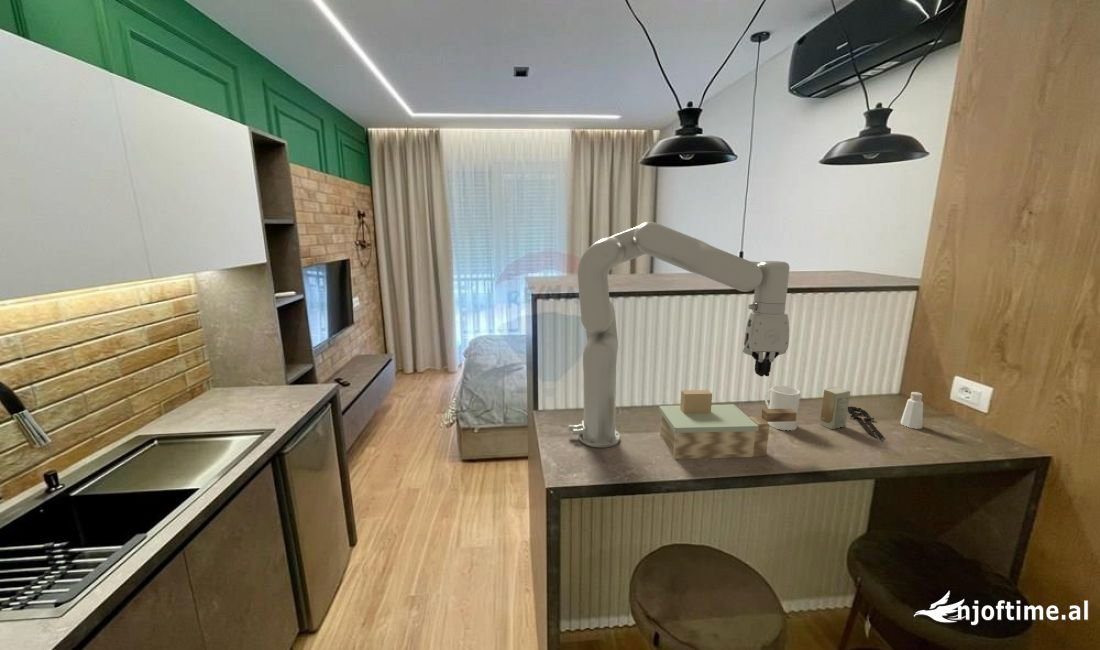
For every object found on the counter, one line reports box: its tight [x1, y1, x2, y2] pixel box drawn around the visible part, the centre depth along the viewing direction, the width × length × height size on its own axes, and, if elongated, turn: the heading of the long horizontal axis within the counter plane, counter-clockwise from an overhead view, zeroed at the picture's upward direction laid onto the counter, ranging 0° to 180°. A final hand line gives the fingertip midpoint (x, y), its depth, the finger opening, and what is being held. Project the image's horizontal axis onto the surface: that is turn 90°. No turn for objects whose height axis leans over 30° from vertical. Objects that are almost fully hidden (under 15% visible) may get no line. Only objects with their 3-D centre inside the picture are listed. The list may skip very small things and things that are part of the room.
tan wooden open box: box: [659, 413, 770, 460], centre depth 121 cm, size 26×14×10 cm, turn 92°
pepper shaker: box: [900, 391, 924, 430], centre depth 133 cm, size 5×5×11 cm
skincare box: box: [819, 386, 851, 430], centre depth 133 cm, size 6×4×12 cm
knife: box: [847, 405, 886, 442], centre depth 136 cm, size 25×6×1 cm, turn 154°
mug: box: [764, 385, 801, 432], centre depth 136 cm, size 12×8×12 cm
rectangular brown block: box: [761, 408, 797, 422], centre depth 117 cm, size 8×3×2 cm, turn 92°
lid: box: [658, 389, 759, 433], centre depth 120 cm, size 23×15×8 cm, turn 92°
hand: (762, 374), depth 114 cm, fingers closed
